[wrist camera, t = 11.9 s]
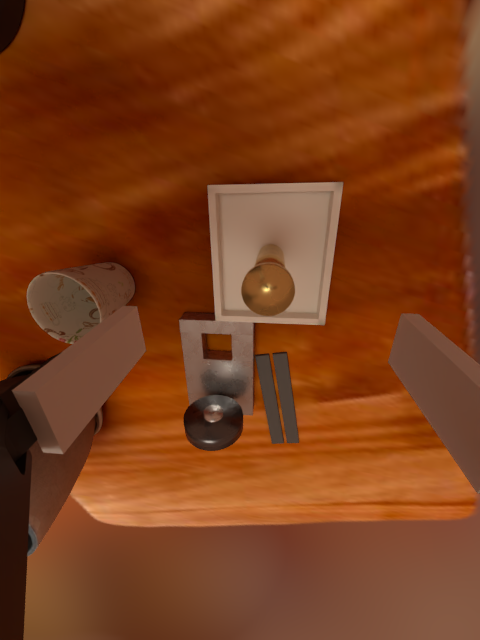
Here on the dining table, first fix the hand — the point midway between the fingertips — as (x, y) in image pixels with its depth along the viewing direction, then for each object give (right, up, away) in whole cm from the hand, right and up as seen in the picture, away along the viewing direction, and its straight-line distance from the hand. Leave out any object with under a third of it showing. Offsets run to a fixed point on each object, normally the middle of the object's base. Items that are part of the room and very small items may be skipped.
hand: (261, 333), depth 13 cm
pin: (+3, +8, +19) cm, 21 cm away
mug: (-19, +4, +25) cm, 31 cm away
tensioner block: (-4, -6, +27) cm, 28 cm away
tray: (+3, +9, +19) cm, 21 cm away
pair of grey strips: (+5, -12, +29) cm, 32 cm away
